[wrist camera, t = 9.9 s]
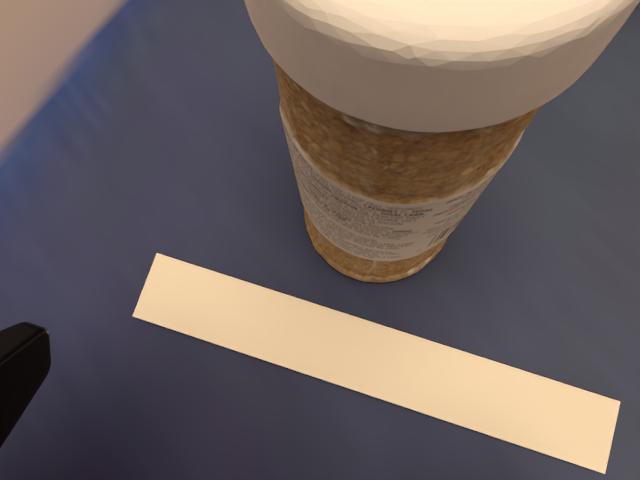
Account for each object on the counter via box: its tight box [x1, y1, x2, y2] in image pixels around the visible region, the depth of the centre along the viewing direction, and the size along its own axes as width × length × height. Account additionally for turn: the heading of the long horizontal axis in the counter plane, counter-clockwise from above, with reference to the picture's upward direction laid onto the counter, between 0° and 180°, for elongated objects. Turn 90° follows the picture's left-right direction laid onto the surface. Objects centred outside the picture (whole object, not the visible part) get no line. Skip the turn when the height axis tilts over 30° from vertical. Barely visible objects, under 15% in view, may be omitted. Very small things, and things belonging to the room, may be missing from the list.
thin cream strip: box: [133, 253, 620, 474], centre depth 17 cm, size 2×14×1 cm, turn 72°
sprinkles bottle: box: [244, 0, 640, 282], centre depth 12 cm, size 5×5×13 cm
